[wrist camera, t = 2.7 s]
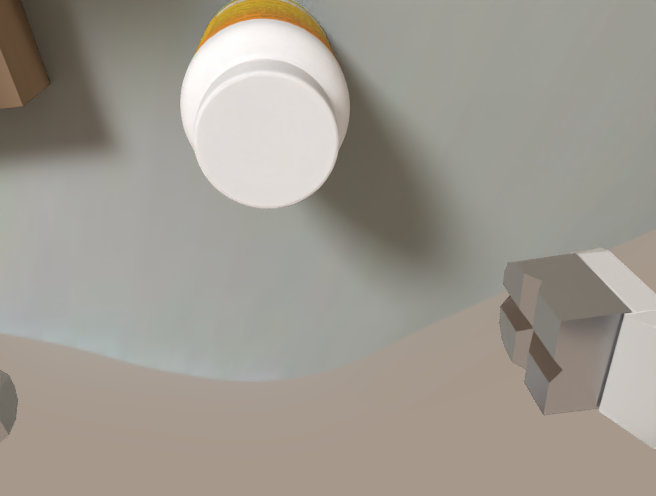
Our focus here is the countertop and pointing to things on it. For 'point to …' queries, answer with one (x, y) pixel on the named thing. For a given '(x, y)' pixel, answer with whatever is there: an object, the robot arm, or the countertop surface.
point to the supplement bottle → (265, 103)
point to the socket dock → (18, 58)
